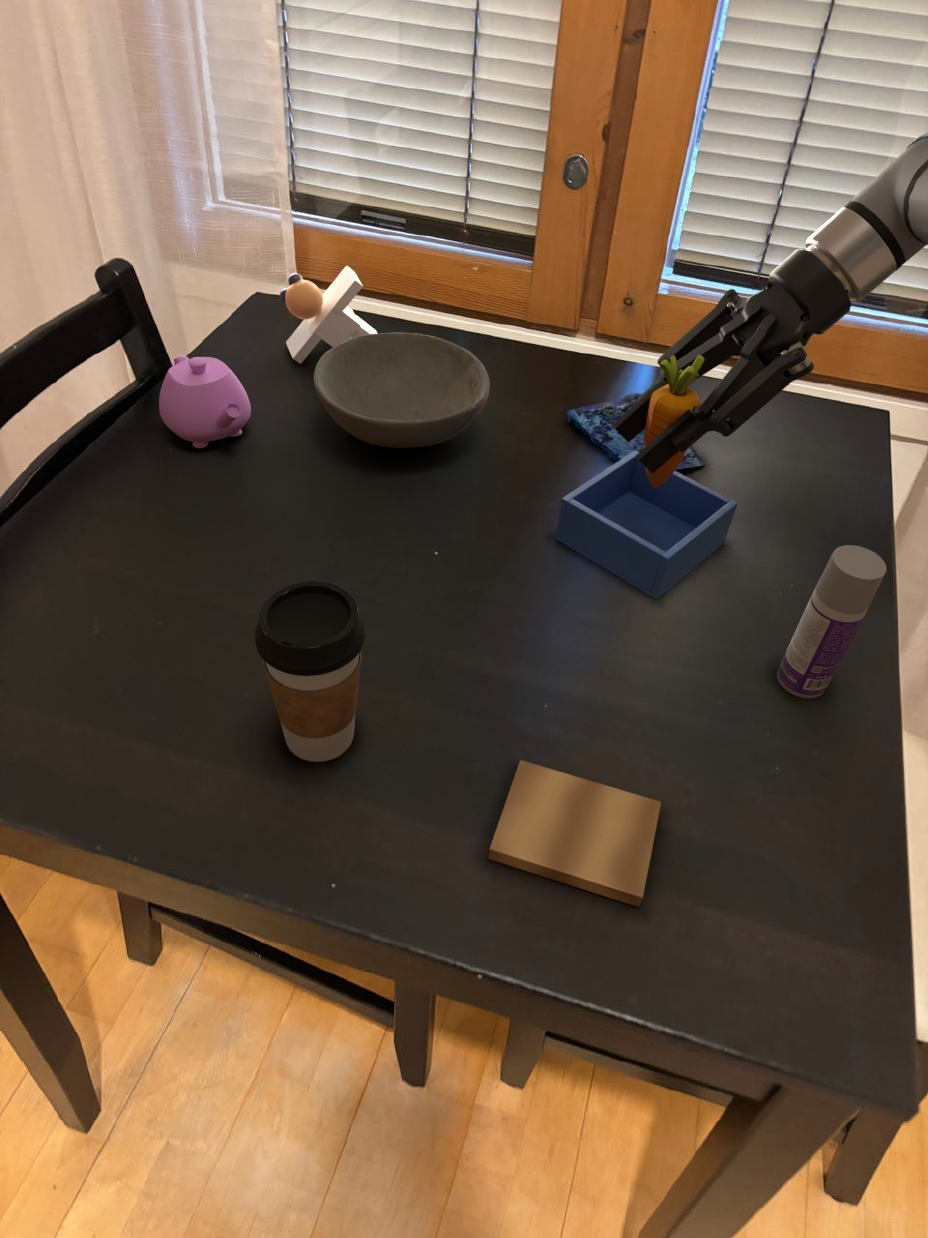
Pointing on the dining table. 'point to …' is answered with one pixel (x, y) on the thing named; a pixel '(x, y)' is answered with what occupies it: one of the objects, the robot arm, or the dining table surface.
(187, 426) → the teapot
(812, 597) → the container
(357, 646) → the coffee cup
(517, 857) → the board
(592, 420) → the blue flat piece
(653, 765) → the dining table surface
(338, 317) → the figurine
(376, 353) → the bowl
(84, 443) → the dining table surface
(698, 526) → the bin
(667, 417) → the carrot
